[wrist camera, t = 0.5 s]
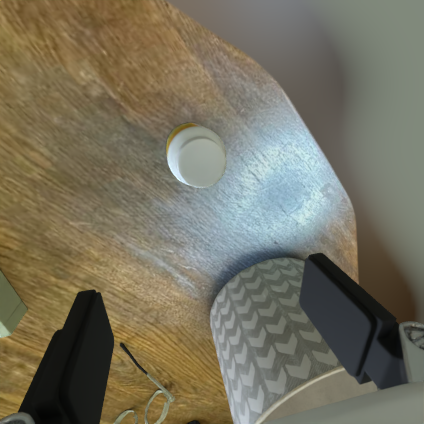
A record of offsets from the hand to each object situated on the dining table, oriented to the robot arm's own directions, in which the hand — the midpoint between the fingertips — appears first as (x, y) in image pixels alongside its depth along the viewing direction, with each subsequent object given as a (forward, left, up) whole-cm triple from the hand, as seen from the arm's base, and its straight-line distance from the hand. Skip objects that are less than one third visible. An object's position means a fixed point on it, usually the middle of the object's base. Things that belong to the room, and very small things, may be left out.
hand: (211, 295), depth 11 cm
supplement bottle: (-3, +2, -20) cm, 20 cm away
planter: (+23, +9, -20) cm, 32 cm away
